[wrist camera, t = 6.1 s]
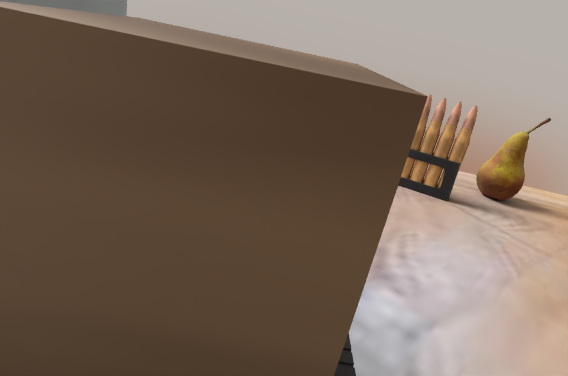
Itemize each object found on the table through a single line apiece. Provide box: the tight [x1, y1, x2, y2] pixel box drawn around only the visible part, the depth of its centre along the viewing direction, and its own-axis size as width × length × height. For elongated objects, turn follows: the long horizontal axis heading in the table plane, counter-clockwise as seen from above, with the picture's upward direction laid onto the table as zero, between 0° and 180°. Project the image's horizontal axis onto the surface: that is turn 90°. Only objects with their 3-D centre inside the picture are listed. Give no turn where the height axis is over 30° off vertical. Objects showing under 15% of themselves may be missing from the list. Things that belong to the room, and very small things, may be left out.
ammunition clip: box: [398, 95, 477, 201], centre depth 48 cm, size 11×2×12 cm, turn 64°
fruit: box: [477, 118, 551, 200], centre depth 51 cm, size 6×6×12 cm
